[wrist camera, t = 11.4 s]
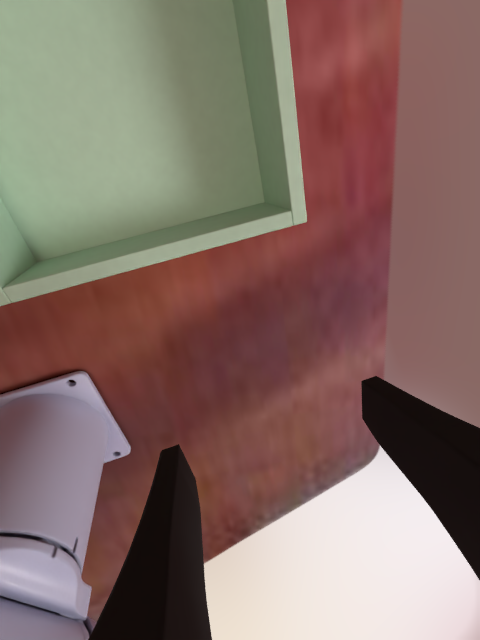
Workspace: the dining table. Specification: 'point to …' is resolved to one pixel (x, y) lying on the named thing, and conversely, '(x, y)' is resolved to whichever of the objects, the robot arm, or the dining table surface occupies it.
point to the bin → (140, 134)
